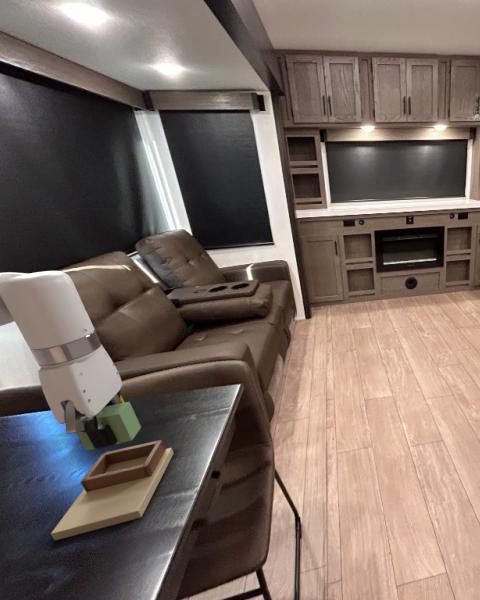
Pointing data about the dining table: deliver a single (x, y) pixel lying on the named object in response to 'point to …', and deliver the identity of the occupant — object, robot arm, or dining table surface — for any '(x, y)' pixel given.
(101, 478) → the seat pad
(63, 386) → the robot arm
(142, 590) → the dining table surface
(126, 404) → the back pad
